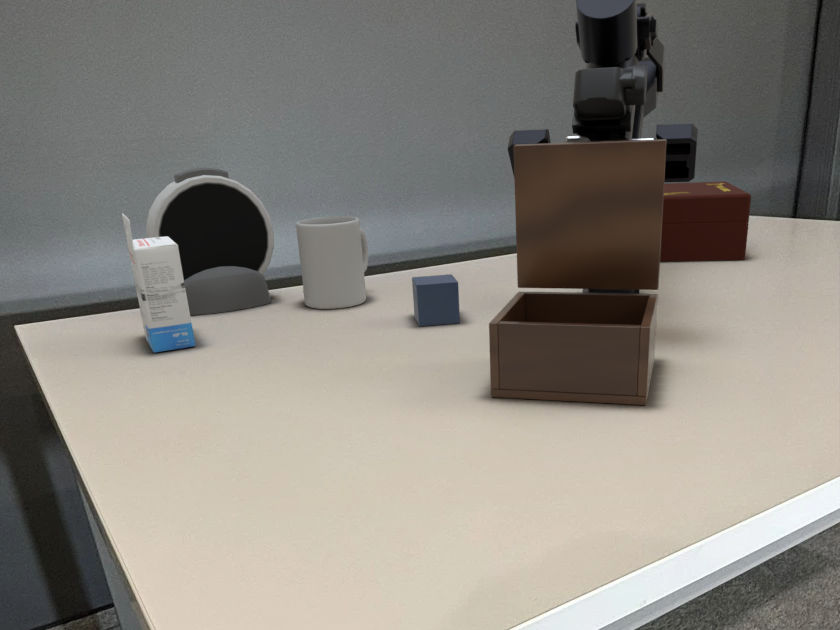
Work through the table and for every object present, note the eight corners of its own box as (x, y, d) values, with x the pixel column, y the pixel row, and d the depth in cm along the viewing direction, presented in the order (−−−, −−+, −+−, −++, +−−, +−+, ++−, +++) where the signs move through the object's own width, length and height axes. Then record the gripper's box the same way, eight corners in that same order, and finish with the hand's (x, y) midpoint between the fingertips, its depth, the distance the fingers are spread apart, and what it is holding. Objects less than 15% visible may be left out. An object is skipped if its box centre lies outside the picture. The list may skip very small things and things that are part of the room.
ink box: (198, 346, 92) (174, 215, 86) (153, 354, 90) (126, 219, 84) (186, 331, 99) (164, 208, 93) (144, 337, 97) (118, 212, 91)
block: (453, 313, 101) (451, 274, 99) (459, 323, 96) (458, 281, 94) (414, 316, 100) (411, 277, 98) (419, 326, 96) (416, 285, 94)
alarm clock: (169, 320, 105) (141, 174, 97) (157, 306, 113) (130, 170, 106) (288, 302, 111) (270, 164, 104) (268, 290, 120) (250, 161, 112)
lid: (666, 140, 69) (666, 138, 70) (513, 145, 73) (514, 144, 74) (658, 290, 75) (658, 287, 76) (517, 288, 79) (519, 285, 80)
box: (629, 241, 146) (631, 184, 142) (722, 238, 143) (727, 180, 139) (637, 262, 127) (640, 196, 123) (745, 259, 124) (752, 193, 120)
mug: (341, 311, 105) (332, 225, 100) (292, 306, 109) (281, 223, 104) (392, 292, 114) (387, 213, 110) (345, 288, 118) (338, 212, 114)
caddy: (646, 405, 68) (650, 327, 65) (490, 397, 71) (488, 323, 69) (654, 361, 79) (658, 293, 76) (519, 356, 82) (518, 291, 80)
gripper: (510, 44, 80) (486, 168, 74) (705, 30, 74) (695, 163, 69) (525, 126, 90) (506, 241, 84) (698, 119, 84) (689, 241, 79)
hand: (593, 222), depth 79 cm, fingers closed
